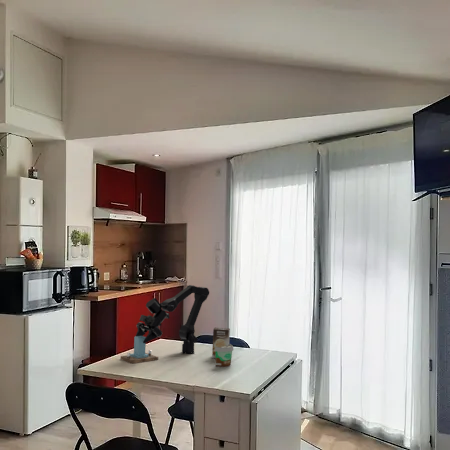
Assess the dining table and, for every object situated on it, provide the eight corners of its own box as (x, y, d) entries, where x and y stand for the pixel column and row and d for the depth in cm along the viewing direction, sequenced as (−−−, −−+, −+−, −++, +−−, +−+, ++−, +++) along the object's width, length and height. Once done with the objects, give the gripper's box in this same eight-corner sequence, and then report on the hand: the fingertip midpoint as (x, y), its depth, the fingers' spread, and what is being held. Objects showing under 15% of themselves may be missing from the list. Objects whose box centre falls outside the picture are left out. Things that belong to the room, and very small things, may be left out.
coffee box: (211, 358, 270) (212, 329, 271) (212, 355, 277) (213, 327, 278) (228, 359, 269) (229, 329, 270) (229, 356, 276) (230, 328, 277)
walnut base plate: (146, 355, 271) (146, 352, 271) (158, 359, 262) (158, 357, 262) (120, 359, 261) (120, 356, 261) (131, 363, 252) (131, 360, 252)
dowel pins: (150, 354, 267) (150, 350, 267) (151, 355, 266) (152, 350, 266) (126, 357, 258) (126, 353, 258) (128, 358, 256) (128, 353, 257)
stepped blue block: (141, 354, 267) (142, 335, 267) (148, 357, 261) (149, 337, 262) (130, 356, 262) (131, 336, 263) (137, 358, 257) (137, 338, 257)
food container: (223, 368, 248) (224, 348, 248) (214, 366, 251) (214, 346, 252) (237, 364, 257) (238, 345, 258) (228, 362, 261) (229, 343, 262)
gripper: (140, 307, 273) (121, 329, 265) (158, 311, 259) (139, 334, 251) (151, 320, 278) (133, 342, 270) (170, 325, 264) (151, 348, 256)
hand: (139, 341), depth 262 cm, fingers open, 9 cm apart
